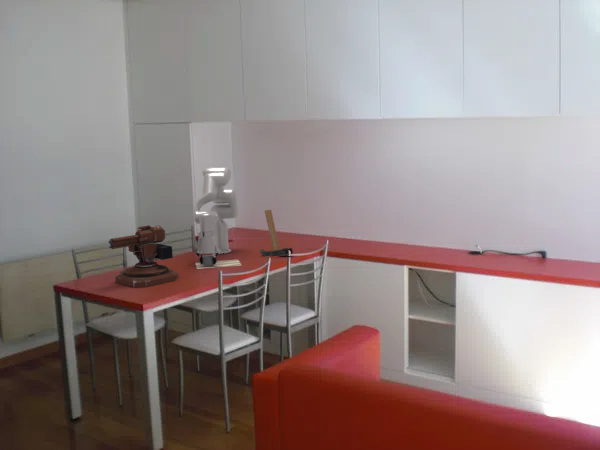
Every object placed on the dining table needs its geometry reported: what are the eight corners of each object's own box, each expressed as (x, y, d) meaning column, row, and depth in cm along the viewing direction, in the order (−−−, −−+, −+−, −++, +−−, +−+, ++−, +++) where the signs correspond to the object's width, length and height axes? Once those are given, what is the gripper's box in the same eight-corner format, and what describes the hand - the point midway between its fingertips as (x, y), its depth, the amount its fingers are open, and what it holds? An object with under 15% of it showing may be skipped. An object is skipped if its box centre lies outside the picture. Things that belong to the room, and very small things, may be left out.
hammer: (261, 259, 441) (251, 213, 439) (264, 258, 446) (254, 212, 443) (290, 255, 434) (280, 207, 431) (293, 253, 439) (283, 206, 436)
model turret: (100, 283, 381) (95, 229, 377) (154, 272, 405) (151, 221, 401) (126, 291, 362) (122, 234, 357) (183, 279, 385) (179, 225, 381)
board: (195, 264, 422) (194, 254, 421) (238, 261, 427) (237, 251, 427) (197, 270, 405) (196, 260, 404) (241, 267, 410) (241, 257, 409)
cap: (209, 265, 407) (208, 257, 407) (200, 265, 411) (199, 257, 410) (216, 263, 413) (215, 255, 412) (207, 262, 417) (206, 255, 416)
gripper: (190, 235, 407) (192, 265, 409) (219, 235, 404) (221, 265, 407) (194, 233, 414) (195, 262, 417) (222, 232, 411) (224, 262, 414)
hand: (208, 263), depth 412 cm, fingers closed on cap, 7 cm apart
